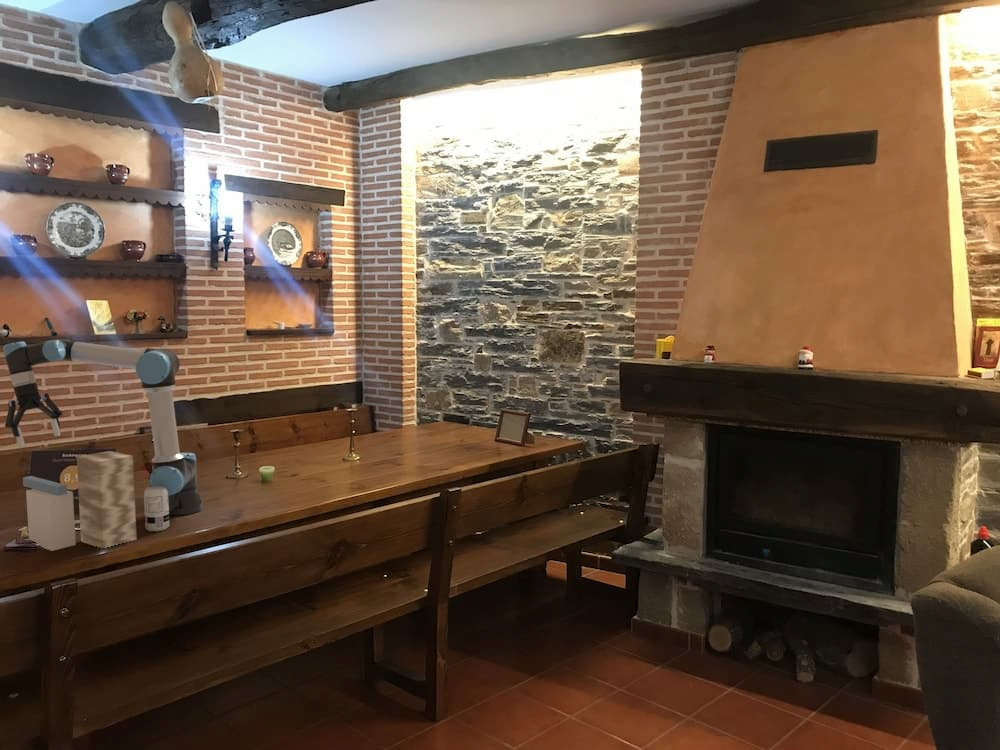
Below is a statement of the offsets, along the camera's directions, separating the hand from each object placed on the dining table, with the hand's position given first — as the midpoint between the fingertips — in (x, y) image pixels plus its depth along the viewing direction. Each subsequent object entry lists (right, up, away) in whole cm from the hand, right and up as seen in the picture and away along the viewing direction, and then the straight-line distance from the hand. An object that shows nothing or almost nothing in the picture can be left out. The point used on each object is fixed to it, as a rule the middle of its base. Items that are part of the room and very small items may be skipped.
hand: (40, 440), depth 297 cm
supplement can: (+44, -32, -1) cm, 54 cm away
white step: (+15, -34, -19) cm, 42 cm away
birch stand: (+33, -34, -15) cm, 49 cm away
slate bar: (+13, -15, -20) cm, 28 cm away
